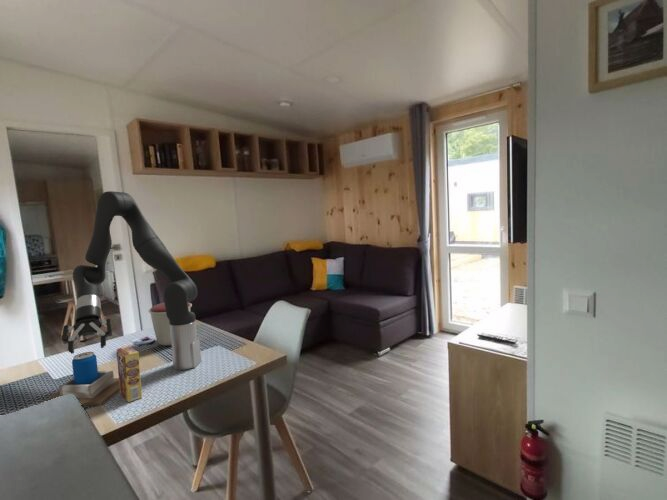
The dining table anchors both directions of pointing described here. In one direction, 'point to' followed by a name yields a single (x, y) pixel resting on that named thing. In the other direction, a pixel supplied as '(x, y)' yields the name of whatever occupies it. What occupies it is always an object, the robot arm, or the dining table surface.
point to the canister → (162, 323)
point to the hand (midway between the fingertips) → (87, 349)
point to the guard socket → (91, 390)
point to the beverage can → (85, 368)
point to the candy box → (129, 373)
